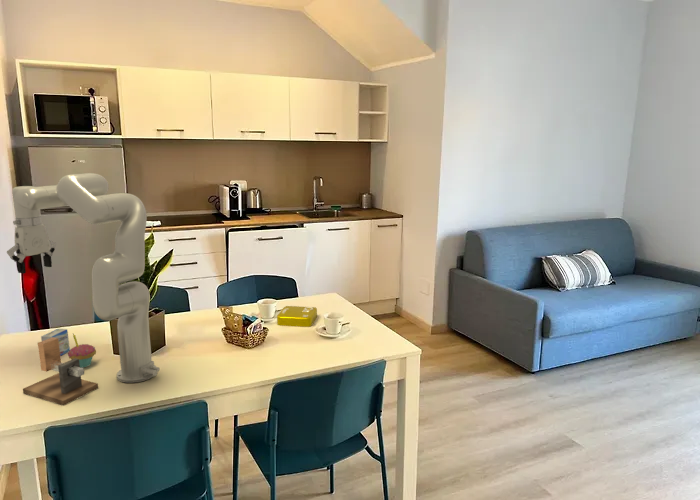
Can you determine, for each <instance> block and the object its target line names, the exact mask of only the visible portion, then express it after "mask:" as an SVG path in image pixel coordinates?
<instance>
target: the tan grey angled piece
mask: <svg viewBox="0 0 700 500" xmlns="http://www.w3.org/2000/svg"><path fill="white" fill-rule="evenodd" d="M37 348H38V355H39V356H38V357H39V361H40V363H39V364H40V370H41V371H43V372H45V373H48V372H50V371H53V372H54V371H55V372H57V373H59V369H58V365H60V364H63V363H64V362H62V358H61V356H60V349H59V341H58V338H54V337H52V338H49V339H47V340H44V341H42V340H41V341H38V342H37ZM84 368H85V367H83V368H81V367H77V366H73V365H72V366H69V367H67V374H69V375H72V376H76V377H80V376H81V377H82V376H84V375H85V370H84Z"/></svg>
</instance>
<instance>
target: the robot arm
mask: <svg viewBox="0 0 700 500" xmlns="http://www.w3.org/2000/svg"><path fill="white" fill-rule="evenodd" d="M108 191H109V182H108V180H107V179H106V178H105V176H103V175H101V174H98V173H95V172H94V173H93V172H85V173H72V174H66V175H63V176H62V177H61V178H60V179H59V181H58V183H57V184H56V185H55V184H54V185H43V186H33V185H22V186H15V187H13V188H12V191H11V193H12V199H13V207H14V215H15V218H14V219H15V220H13V221H12V224H13V225H15V226H16V227H15V229H14V245H13V246H12V247H10V248H9V249H8V250H7V251H6V254H7V255H8V256H9V258H10V259H11V260H13V261H14V262H15V263H16V270H17V273H19V274H24V275H25V274H26V273H27V270H26V265H25V263H26V262H24V259H25V258H26V257H30V256H36V255H41V254H43V257H42V258H43V266H44V267H46V268H52V264H53V263H52V256H53V253H54V252H55V249H56V246H57V242H55V241H54V240H53V241H52V240H50V238H49V233H48V230H47V228H46V225H45V224H43V221H42V214H41V210H45V209H52V208H60V207H66V206H67V207H70V209H72V210H73V211H74V212H75V213H76V214H78V215H79V216H80V217H81V218H82V219H83V220H85V221H86V223H89V224H91V225H103V224H104V225H105V224H110V223H114V222H121V223H120V225H119V227H118V229H117V231H116V233H115V238H114V243H115V245H114V246H115V247H114V251H113V253H109V254H106V255H102V256H100V257H98V258H97V259H96V260H95V261H94V263H93V266H92V269H91V290H92V291H91V292H92V297H91V298H92V306H93V311H94V313H95V315H96V316H97V317H98V318H99V319H100V320H102V321H112V320H115V319H117V323H116V324H117V325H116V328H117V341H118V350H119V359H120V361H119V363H120V369H119V370H118V371H117V373H116V379H117V381H119V382H122V383H127V384H132V383H140V382H144V381H147V380H150V379H152V378H154V377H156V376H157V375H158V372H159V371H160V367H158V366H156V365H155V361H154V360H153V359H152V347H151V336H150V335H151V334H150V321H149V311H150V309H149V308H150V301H151V295H150V294H151V293H150V290H149V289H148V286H147V285H146V284H144V283H143V282H140V281H136V280H135V279H138V278H140V277H141V276H143V275H144V271H145V268H146V267H145V266H146V264H145V262H146V261H145V259H146V258H145V257H146V253H145V251H146V249H145V248H146V247H145V246H146V243H145V235H146V228H147V221H148V219H147V216H148V215H147V209H146V207H145V205H144V202H143V201H142V200H141V198H140V197H138V196H137V195H135V194H132V193H127V192H126V193H125V192H124V193H123V192H121V193H119V192H118V193H111V194H107V193H108ZM15 253H16V254H15ZM134 280H135V281H134Z"/></svg>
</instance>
